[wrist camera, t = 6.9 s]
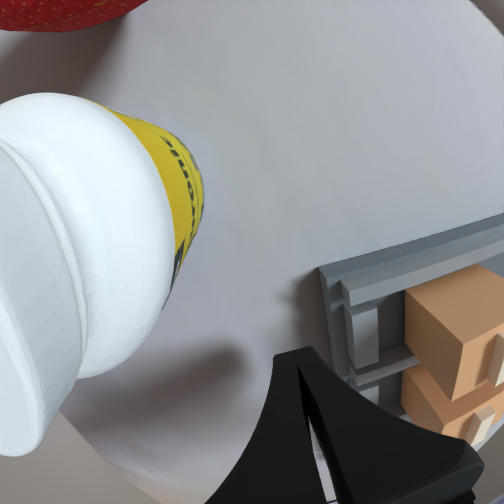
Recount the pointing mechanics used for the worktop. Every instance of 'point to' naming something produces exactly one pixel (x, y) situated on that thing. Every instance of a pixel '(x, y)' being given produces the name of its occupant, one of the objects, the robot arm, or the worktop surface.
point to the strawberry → (60, 14)
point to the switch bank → (394, 303)
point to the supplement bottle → (82, 247)
